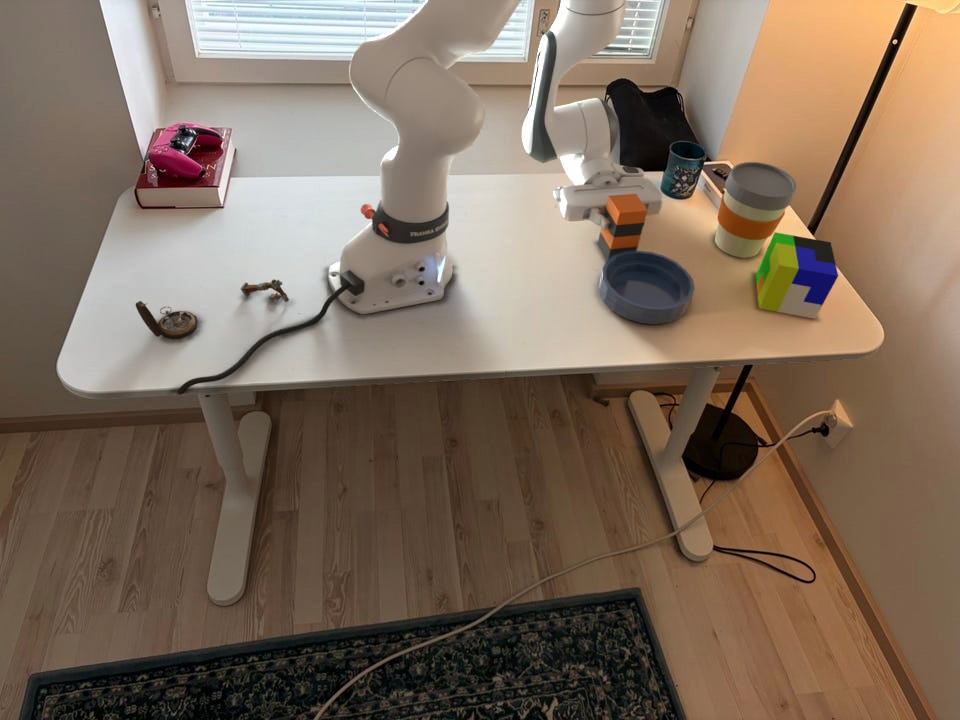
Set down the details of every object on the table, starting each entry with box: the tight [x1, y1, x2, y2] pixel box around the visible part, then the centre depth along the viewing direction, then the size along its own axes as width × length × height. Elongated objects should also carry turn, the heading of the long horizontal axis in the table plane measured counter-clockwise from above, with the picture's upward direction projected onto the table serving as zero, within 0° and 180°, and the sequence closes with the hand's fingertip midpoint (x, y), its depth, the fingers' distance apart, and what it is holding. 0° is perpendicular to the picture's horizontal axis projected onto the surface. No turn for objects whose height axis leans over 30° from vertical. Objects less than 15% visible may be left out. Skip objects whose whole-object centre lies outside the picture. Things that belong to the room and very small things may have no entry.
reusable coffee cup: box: [714, 161, 797, 259], centre depth 140 cm, size 13×13×15 cm
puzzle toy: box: [755, 231, 839, 320], centre depth 131 cm, size 10×10×10 cm
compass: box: [135, 300, 199, 340], centre depth 115 cm, size 8×8×7 cm
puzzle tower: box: [597, 194, 648, 261], centre depth 137 cm, size 6×6×11 cm
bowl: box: [598, 249, 695, 325], centre depth 130 cm, size 16×16×4 cm
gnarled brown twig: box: [239, 279, 290, 303], centre depth 123 cm, size 2×8×4 cm, turn 75°
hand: (625, 225), depth 135 cm, fingers closed on puzzle tower, 5 cm apart
